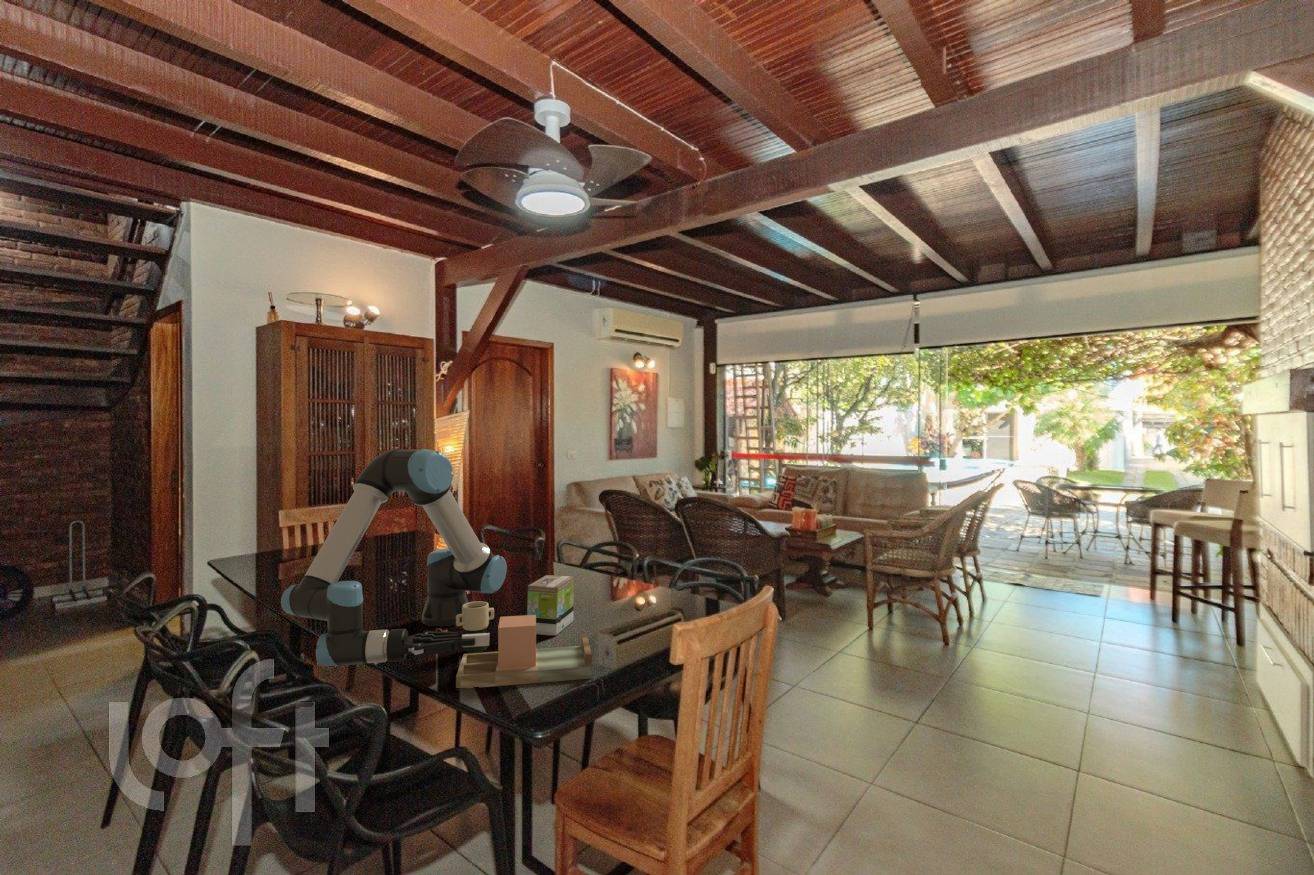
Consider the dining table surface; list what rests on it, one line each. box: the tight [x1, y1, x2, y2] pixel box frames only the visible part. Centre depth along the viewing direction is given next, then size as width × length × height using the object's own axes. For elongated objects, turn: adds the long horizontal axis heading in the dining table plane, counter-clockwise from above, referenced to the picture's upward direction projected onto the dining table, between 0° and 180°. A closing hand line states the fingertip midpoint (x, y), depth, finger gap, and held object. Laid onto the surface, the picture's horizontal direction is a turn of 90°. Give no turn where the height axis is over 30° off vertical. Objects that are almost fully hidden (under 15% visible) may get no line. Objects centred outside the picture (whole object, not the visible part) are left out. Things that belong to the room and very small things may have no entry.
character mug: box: [455, 600, 495, 654], centre depth 168 cm, size 11×7×13 cm, turn 129°
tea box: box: [526, 574, 575, 636], centre depth 189 cm, size 15×10×15 cm
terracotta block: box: [497, 614, 537, 669], centre depth 153 cm, size 9×9×10 cm
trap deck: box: [455, 633, 593, 689], centre depth 153 cm, size 15×32×6 cm, turn 101°
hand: (489, 639), depth 151 cm, fingers closed
